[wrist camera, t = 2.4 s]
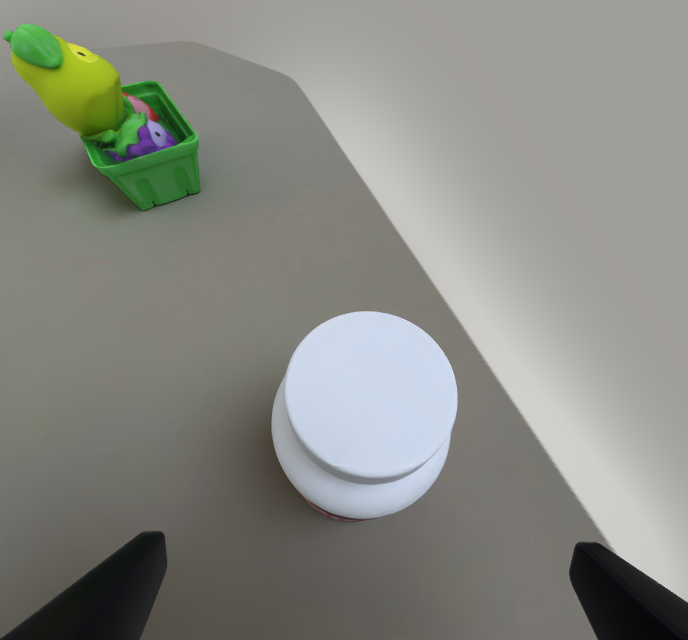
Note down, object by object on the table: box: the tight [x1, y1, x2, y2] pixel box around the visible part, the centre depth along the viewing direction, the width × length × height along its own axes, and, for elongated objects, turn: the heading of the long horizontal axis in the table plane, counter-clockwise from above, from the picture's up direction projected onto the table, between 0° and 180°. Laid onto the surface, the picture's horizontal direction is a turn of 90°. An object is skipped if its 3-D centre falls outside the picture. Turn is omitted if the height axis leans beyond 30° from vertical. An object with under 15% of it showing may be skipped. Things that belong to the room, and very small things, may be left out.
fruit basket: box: [3, 24, 200, 210], centre depth 26 cm, size 11×9×11 cm
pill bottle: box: [271, 311, 458, 522], centre depth 13 cm, size 6×6×11 cm
